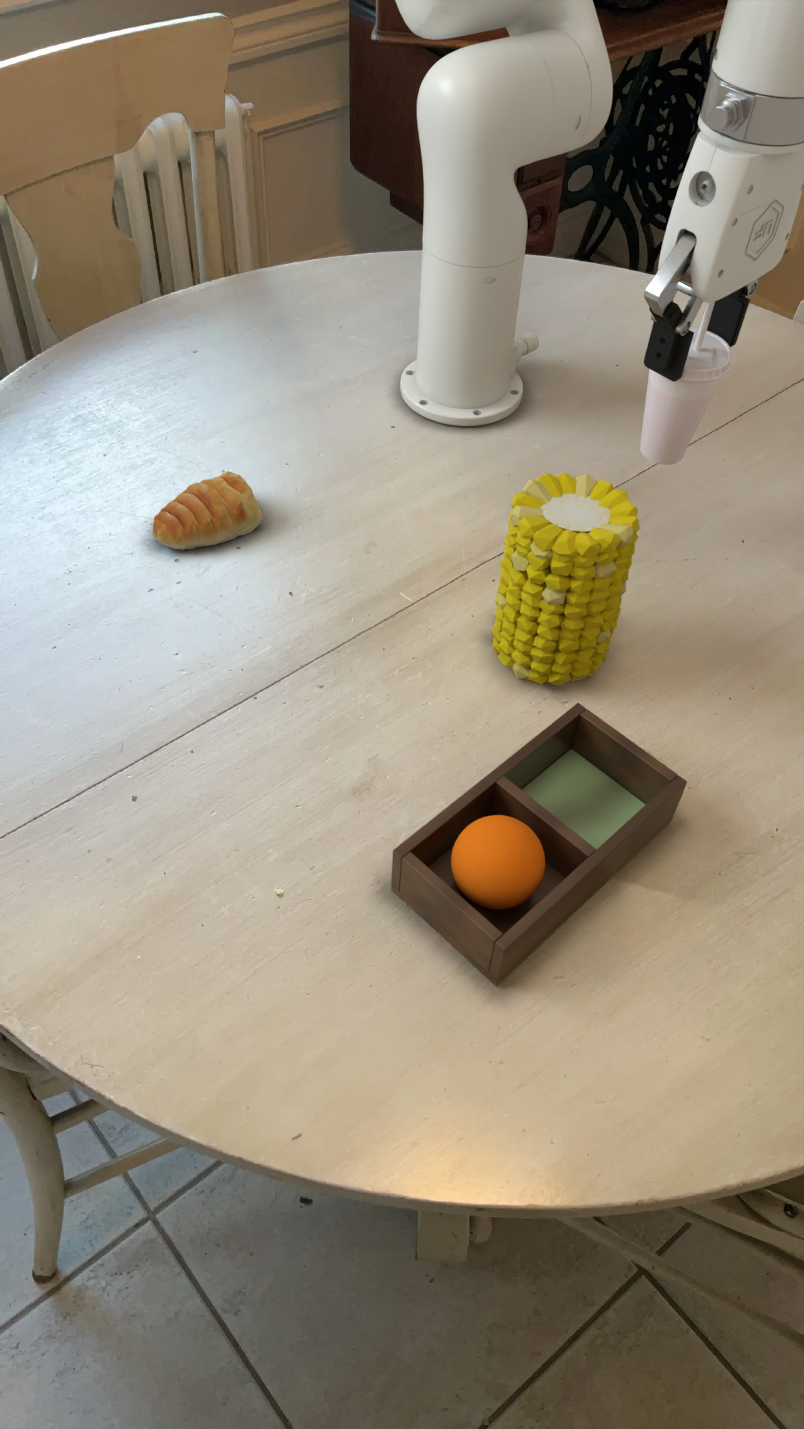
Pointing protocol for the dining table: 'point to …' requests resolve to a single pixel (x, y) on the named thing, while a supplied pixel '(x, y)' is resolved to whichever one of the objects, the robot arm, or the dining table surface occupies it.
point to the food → (563, 577)
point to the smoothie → (683, 396)
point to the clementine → (498, 862)
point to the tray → (542, 836)
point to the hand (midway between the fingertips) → (689, 353)
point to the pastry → (208, 513)
